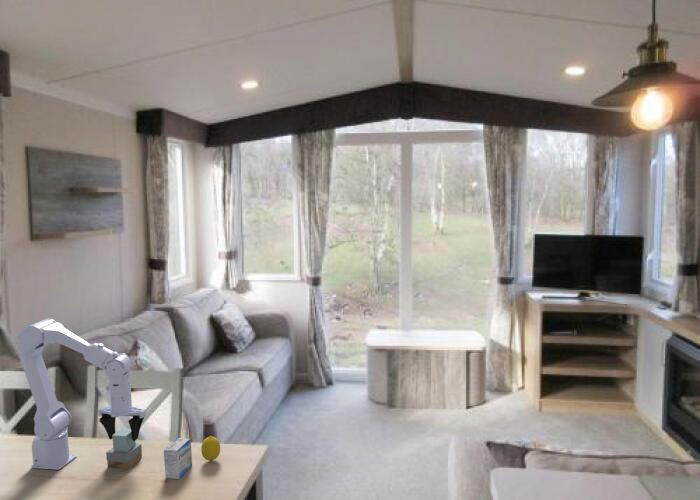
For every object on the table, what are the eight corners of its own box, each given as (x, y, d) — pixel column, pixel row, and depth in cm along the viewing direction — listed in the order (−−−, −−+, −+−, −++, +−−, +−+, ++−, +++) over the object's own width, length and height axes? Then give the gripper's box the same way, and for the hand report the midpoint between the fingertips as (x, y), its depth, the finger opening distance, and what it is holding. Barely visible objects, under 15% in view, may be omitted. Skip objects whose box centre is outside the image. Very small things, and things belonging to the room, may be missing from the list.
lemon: (198, 464, 159) (196, 438, 158) (209, 455, 164) (208, 430, 163) (213, 467, 157) (212, 441, 156) (224, 458, 162) (223, 433, 161)
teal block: (113, 451, 158) (112, 435, 158) (122, 444, 163) (121, 428, 162) (127, 451, 157) (125, 436, 157) (135, 444, 162) (134, 429, 161)
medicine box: (179, 479, 150) (177, 451, 149) (164, 478, 151) (163, 449, 150) (192, 465, 158) (191, 438, 157) (179, 464, 159) (177, 437, 158)
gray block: (106, 460, 158) (106, 452, 158) (122, 449, 165) (122, 441, 164) (126, 463, 156) (125, 455, 156) (141, 451, 163) (141, 444, 162)
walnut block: (107, 468, 158) (107, 460, 158) (121, 456, 165) (120, 449, 164) (129, 470, 157) (128, 462, 156) (142, 458, 164) (141, 450, 163)
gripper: (90, 399, 155) (93, 443, 157) (135, 401, 153) (138, 446, 155) (105, 390, 162) (108, 432, 164) (148, 392, 160) (151, 435, 162)
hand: (123, 438), depth 160 cm, fingers open, 7 cm apart
